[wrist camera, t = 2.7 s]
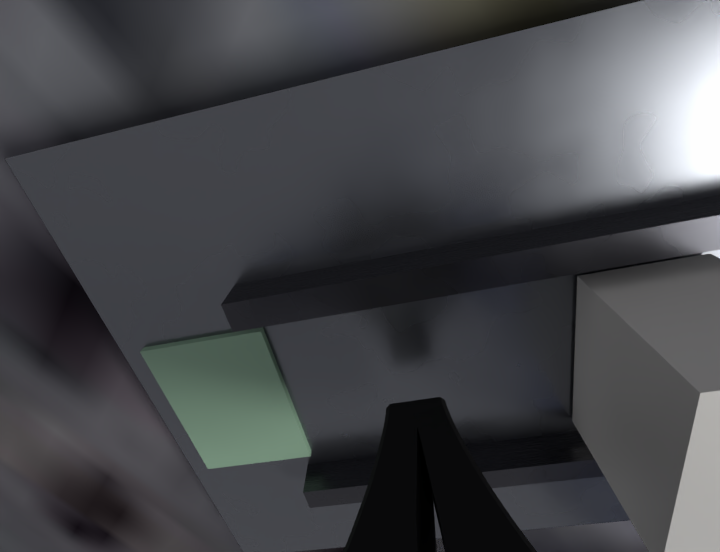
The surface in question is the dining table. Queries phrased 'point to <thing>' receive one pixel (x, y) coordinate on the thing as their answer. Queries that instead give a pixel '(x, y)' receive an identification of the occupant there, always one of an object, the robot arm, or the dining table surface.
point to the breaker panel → (394, 256)
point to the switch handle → (654, 395)
